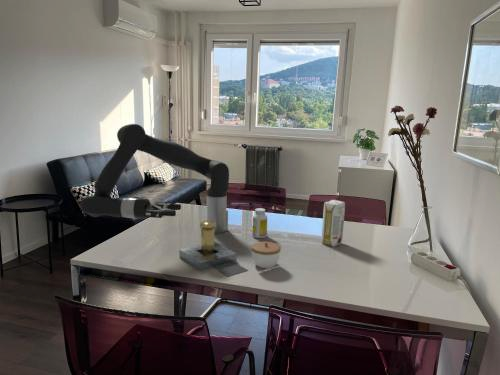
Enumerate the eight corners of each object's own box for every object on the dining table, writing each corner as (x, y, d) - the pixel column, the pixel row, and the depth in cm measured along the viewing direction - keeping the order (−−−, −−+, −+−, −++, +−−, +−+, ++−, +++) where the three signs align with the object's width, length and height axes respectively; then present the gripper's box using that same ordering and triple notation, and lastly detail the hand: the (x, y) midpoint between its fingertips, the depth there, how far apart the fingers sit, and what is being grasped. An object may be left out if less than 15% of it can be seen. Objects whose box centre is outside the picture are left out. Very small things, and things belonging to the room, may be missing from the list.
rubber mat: (233, 263, 144) (234, 261, 144) (248, 271, 137) (248, 270, 137) (213, 269, 138) (213, 267, 138) (227, 278, 131) (227, 276, 131)
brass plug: (210, 254, 150) (210, 219, 147) (218, 259, 146) (218, 223, 143) (196, 257, 147) (196, 222, 144) (204, 263, 142) (205, 226, 139)
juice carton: (343, 243, 168) (347, 202, 164) (333, 248, 162) (337, 205, 158) (329, 238, 173) (332, 198, 169) (318, 243, 167) (321, 202, 163)
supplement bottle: (268, 235, 177) (269, 208, 174) (264, 239, 170) (265, 212, 168) (254, 233, 179) (255, 206, 176) (250, 237, 173) (251, 210, 170)
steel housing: (214, 249, 157) (214, 241, 157) (236, 262, 145) (236, 253, 144) (179, 257, 148) (179, 249, 147) (200, 272, 135) (200, 263, 135)
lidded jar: (270, 274, 135) (271, 250, 133) (245, 267, 141) (246, 243, 139) (284, 264, 144) (285, 241, 142) (260, 258, 150) (261, 235, 148)
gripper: (128, 203, 135) (173, 205, 135) (141, 194, 149) (182, 196, 149) (129, 223, 137) (173, 225, 136) (142, 212, 151) (182, 214, 150)
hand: (178, 210), depth 143 cm, fingers open, 8 cm apart
